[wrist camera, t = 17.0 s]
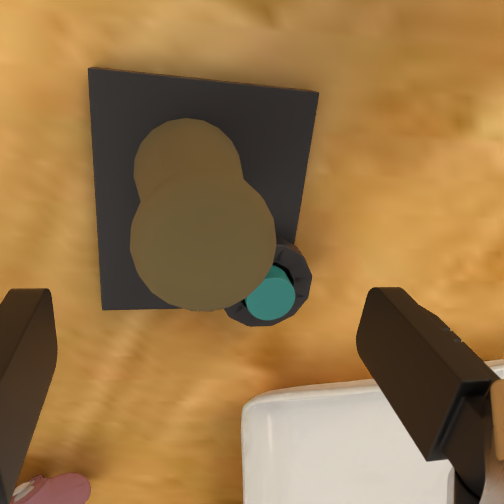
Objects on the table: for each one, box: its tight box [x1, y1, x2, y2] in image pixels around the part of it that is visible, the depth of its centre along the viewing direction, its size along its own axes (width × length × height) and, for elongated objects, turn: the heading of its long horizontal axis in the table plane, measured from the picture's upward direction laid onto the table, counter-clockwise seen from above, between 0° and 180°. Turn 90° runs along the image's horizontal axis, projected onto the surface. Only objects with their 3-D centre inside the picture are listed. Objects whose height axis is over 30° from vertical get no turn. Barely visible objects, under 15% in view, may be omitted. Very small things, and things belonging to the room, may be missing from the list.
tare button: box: [245, 265, 295, 320], centre depth 25 cm, size 3×3×2 cm
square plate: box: [241, 359, 504, 504], centre depth 38 cm, size 27×27×4 cm
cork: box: [130, 118, 276, 311], centre depth 18 cm, size 6×6×11 cm
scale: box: [88, 67, 319, 327], centre depth 24 cm, size 14×13×3 cm
